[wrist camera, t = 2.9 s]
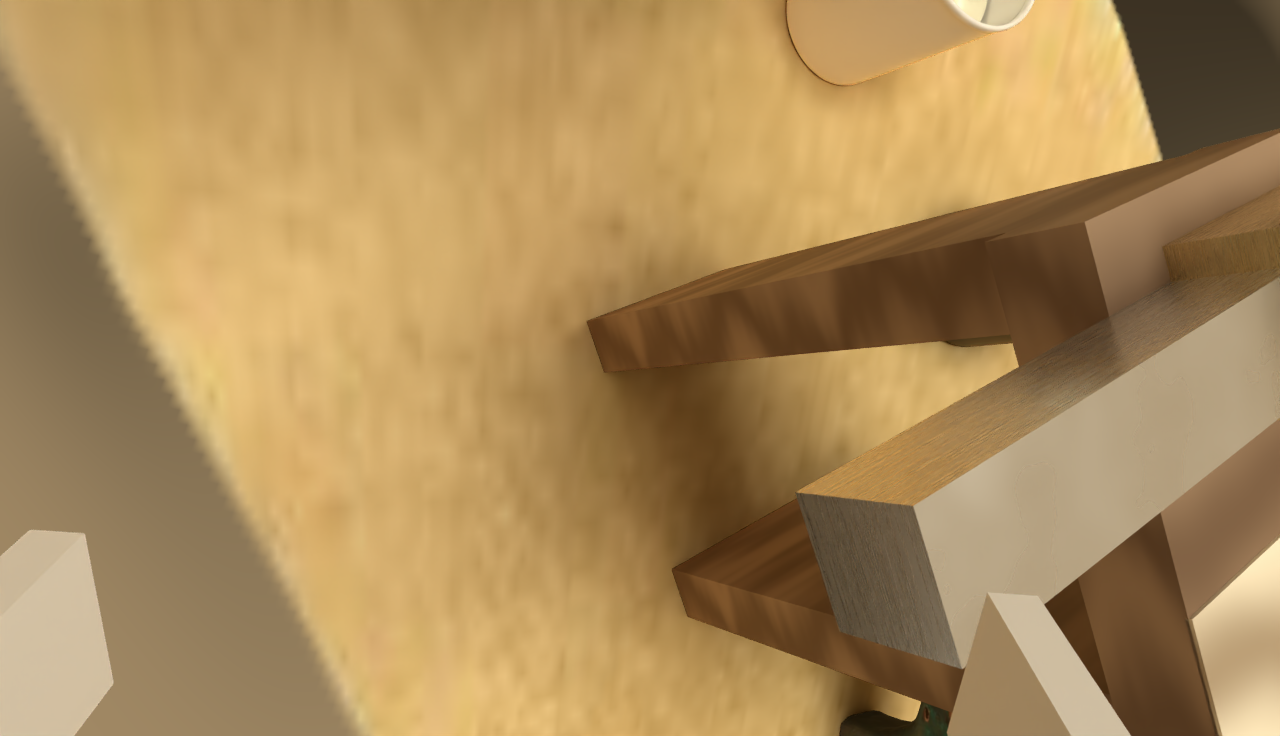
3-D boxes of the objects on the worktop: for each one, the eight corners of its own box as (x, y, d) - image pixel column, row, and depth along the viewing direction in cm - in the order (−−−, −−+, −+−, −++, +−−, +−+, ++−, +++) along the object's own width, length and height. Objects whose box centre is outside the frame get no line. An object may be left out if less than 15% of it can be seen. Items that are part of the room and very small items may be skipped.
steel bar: (779, 444, 17) (944, 452, 14) (1296, 176, 28) (1463, 142, 24) (854, 676, 18) (1029, 740, 14) (1331, 328, 28) (1498, 315, 25)
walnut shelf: (571, 326, 48) (1088, 221, 22) (737, 264, 54) (1303, 122, 28) (674, 624, 50) (1252, 849, 24) (823, 534, 56) (1419, 637, 30)
